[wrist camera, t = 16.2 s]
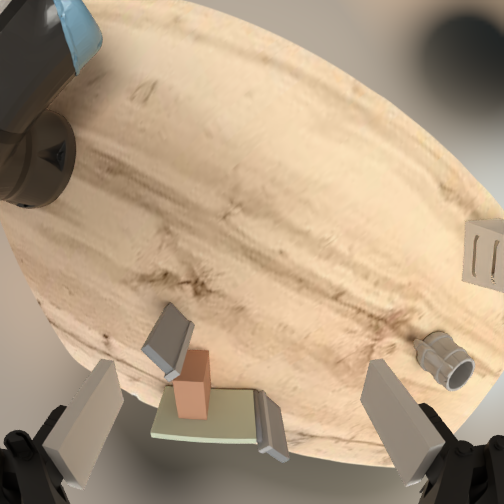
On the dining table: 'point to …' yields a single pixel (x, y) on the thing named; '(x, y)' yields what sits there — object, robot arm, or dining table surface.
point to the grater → (484, 253)
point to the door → (212, 418)
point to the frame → (171, 362)
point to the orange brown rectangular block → (193, 386)
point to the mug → (444, 360)
